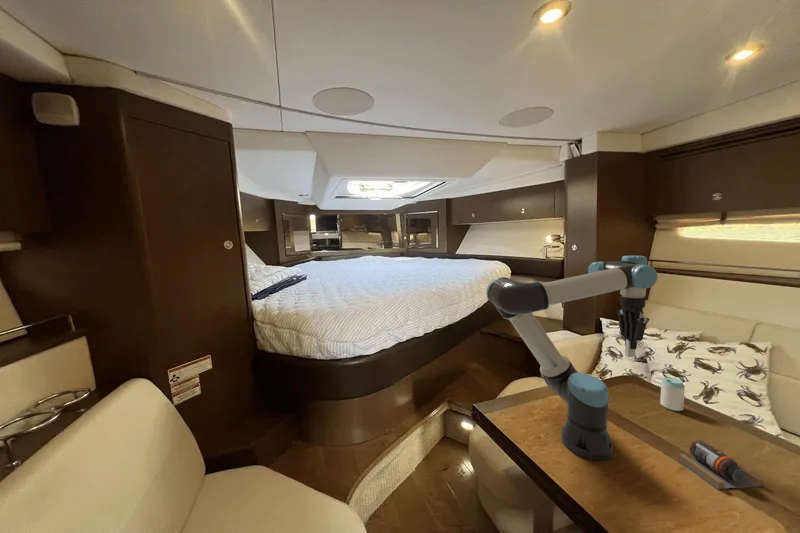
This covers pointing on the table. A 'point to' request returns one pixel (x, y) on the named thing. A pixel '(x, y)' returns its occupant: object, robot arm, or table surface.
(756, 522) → the table surface
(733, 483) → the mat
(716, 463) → the supplement bottle
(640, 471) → the table surface
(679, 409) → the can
